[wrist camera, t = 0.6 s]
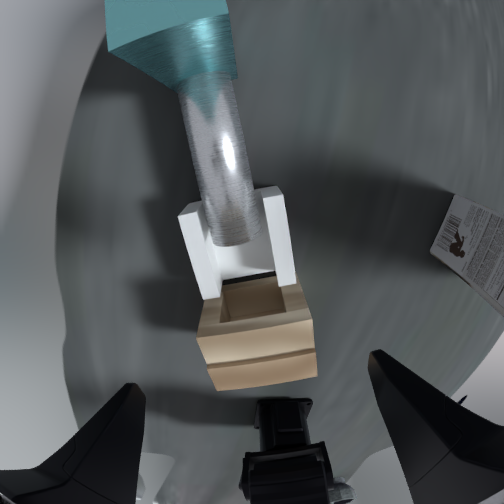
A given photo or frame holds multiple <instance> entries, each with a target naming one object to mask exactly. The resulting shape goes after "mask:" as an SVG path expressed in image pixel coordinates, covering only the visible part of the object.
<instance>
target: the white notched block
mask: <svg viewBox="0 0 504 504" xmlns="http://www.w3.org/2000/svg"><path fill="white" fill-rule="evenodd" d="M254 191H255V196H256V201H257V206H258V211H259V217H260V222H261V227H262V234H261V235H260V236H259V237H258V238H257V239H255V240H253V241H250V242H248V243H245V244H241V245H237V246H230V247H220V246H216V245H214V244H213V242H212V238H211V234H210V230H209V227H208V223H207V219H206V215H205V211H204V207H203V203H202V201H197V202H193V203H189V204H188V205H187V206H186V207H185V208H184V209H183V211H182V212H181V213H180V214H179V215H178V219H179V223H180V226H181V230H182V233H183V237H184V240H185V243H186V247H187V250H188V254H189V257H190V260H191V263H192V267H193V270H194V273H195V276H196V279H197V282H198V285H199V289H200V292H201V295H202V298H203V300H205V299H211V298H218V297H220V294H221V288H222V281H223V280H226V279H231V278H237V277H242V276H248V275H253V274H259V273H264V272H270V271H276V276H277V280H278V285H279V287H280V286H286V285H291V284H296V275H295V268H294V261H293V254H292V247H291V241H290V234H289V228H288V221H287V215H286V209H285V203H284V197H283V194H282V192H281V191H280V189H279V188H278V186H277V185H276V186H271V187H265V188H260V189H255V190H254Z"/></svg>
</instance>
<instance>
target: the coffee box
mask: <svg viewBox="0 0 504 504" xmlns="http://www.w3.org/2000/svg"><path fill="white" fill-rule="evenodd" d="M430 253H431V254H432V255H433V256H434V257H436V258H437V259H438V260H439V261H441V262H442V263H443V264H444V265H446V266H447V267H448V268H449V269H451V270H452V271H453V272H454V273H455V274H457V275H458V276H459V277H460V278H461V279H462V280H464V281H465V282H466V283H467V284H468V285H469V286H471V287H472V288H473V289H474V290H475V291H476V292H477V293H478V294H479V295H481V296H482V297H483V298H484V299H485V300H486V301H487V302H488V303H489V304H490V305H491V306H492V307H493V308H494V309H495V310H496V311H498V312H499V313H500V314H501V315H502V316H503V317H504V215H503V214H501V213H499V212H496V211H494V210H492V209H490V208H488V207H486V206H483V205H481V204H479V203H476V202H474V201H472V200H469V199H467V198H464V197H461V196H459V195H456V194H455V195H454V197H453V199H452V202H451V204H450V207H449V209H448V212H447V214H446V216H445V219H444V221H443V223H442V225H441V228H440V230H439V232H438V234H437V236H436V238H435V241H434V243H433V245H432V247H431V249H430Z"/></svg>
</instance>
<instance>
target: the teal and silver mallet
mask: <svg viewBox="0 0 504 504" xmlns="http://www.w3.org/2000/svg"><path fill="white" fill-rule="evenodd" d="M105 16H106V32H107V44H108V52H110V53H112V54H114V55H115V56H117V57H119V58H121V59H123V60H124V61H126V62H128V63H129V64H131V65H133V66H135V67H136V68H138V69H140V70H141V71H143V72H145V73H146V74H148V75H150V76H151V77H153V78H154V79H156V80H158V81H159V82H161V83H162V84H164V85H166V86H167V87H169V88H170V89H172V90H173V91H175V92H176V93H178V96H179V101H180V106H181V111H182V115H183V120H184V125H185V129H186V134H187V139H188V143H189V148H190V152H191V156H192V161H193V165H194V169H195V174H196V178H197V182H198V186H199V190H200V195H201V199H202V203H203V207H204V211H205V215H206V219H207V223H208V227H209V230H210V234H211V238H212V242H213V244H214V245H216V246H220V247H230V246H237V245H241V244H245V243H248V242H250V241H253V240H255V239H257V238H258V237H259V236H260V235H261V234H262V227H261V222H260V217H259V211H258V206H257V201H256V196H255V191H254V186H253V181H252V176H251V171H250V166H249V161H248V156H247V151H246V147H245V142H244V137H243V132H242V127H241V122H240V118H239V113H238V108H237V103H236V99H235V94H234V89H233V85H232V80H233V79H238V77H237V69H236V62H235V55H234V47H233V40H232V33H231V26H230V18H229V12H228V8H227V4H226V0H105Z"/></svg>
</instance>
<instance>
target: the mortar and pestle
mask: <svg viewBox="0 0 504 504" xmlns="http://www.w3.org/2000/svg"><path fill="white" fill-rule="evenodd" d="M333 480H334V489H333V490H329V491H328V493H329V500H330V504H347V503H350V502H353V501H354V500H356V499H357V496H356V493H355V491H354V489H353V488H352V487H351V486H349V485H347V484H345V478H343V477H339V478H333Z"/></svg>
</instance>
